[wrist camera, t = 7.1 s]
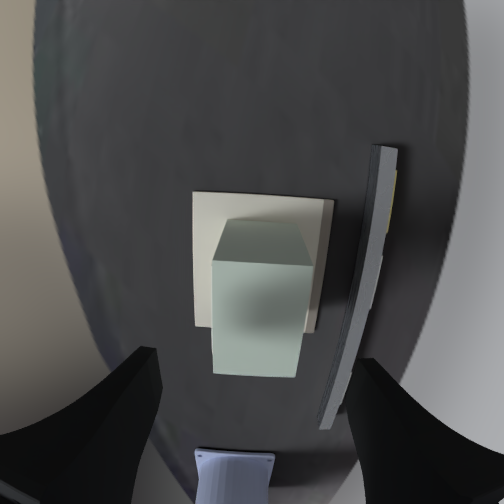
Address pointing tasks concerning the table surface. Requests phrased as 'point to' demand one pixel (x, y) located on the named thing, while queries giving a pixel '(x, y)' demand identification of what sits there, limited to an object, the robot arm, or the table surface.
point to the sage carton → (259, 298)
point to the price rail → (362, 277)
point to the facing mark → (266, 210)
